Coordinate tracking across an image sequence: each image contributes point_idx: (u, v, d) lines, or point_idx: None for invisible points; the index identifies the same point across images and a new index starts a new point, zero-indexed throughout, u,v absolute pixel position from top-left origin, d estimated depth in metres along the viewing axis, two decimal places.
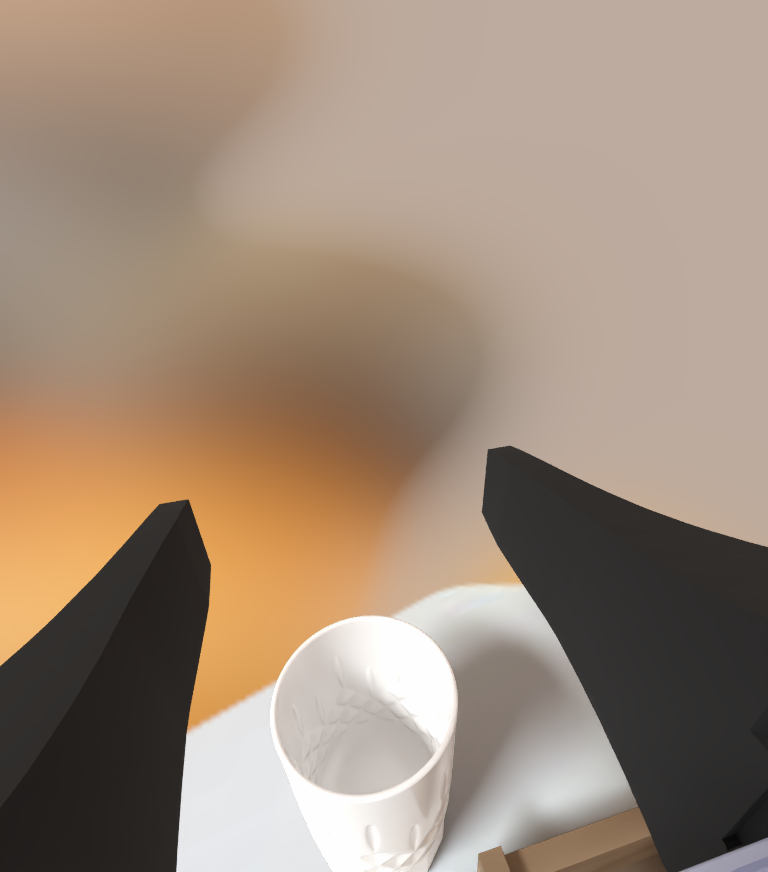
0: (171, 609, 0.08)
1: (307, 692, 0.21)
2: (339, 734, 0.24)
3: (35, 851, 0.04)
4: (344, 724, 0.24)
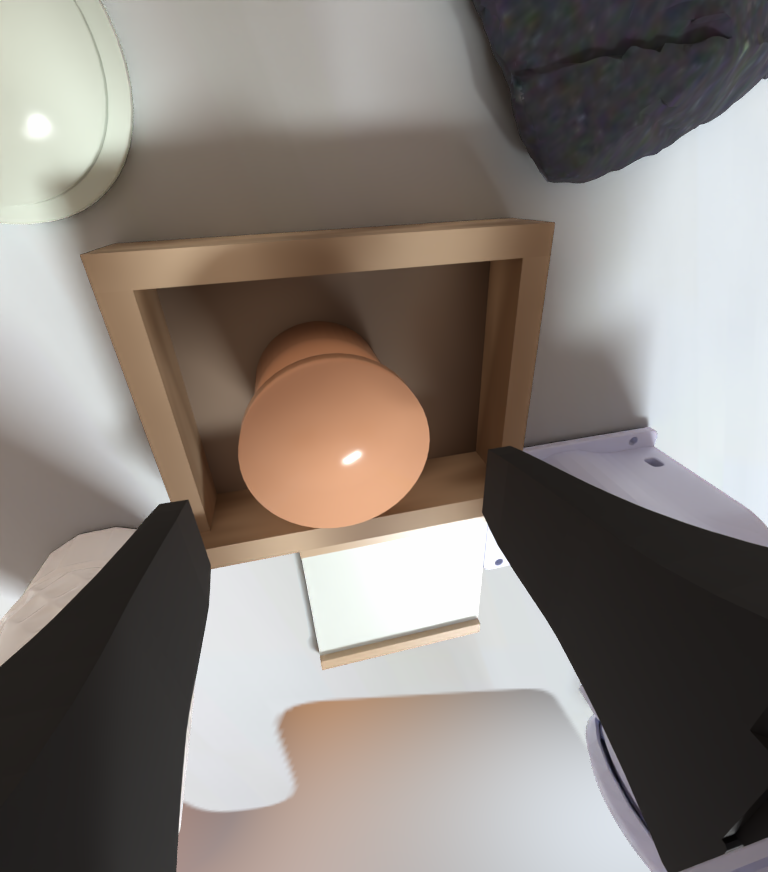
0: (170, 609, 0.08)
1: None
2: None
3: (35, 851, 0.04)
4: None
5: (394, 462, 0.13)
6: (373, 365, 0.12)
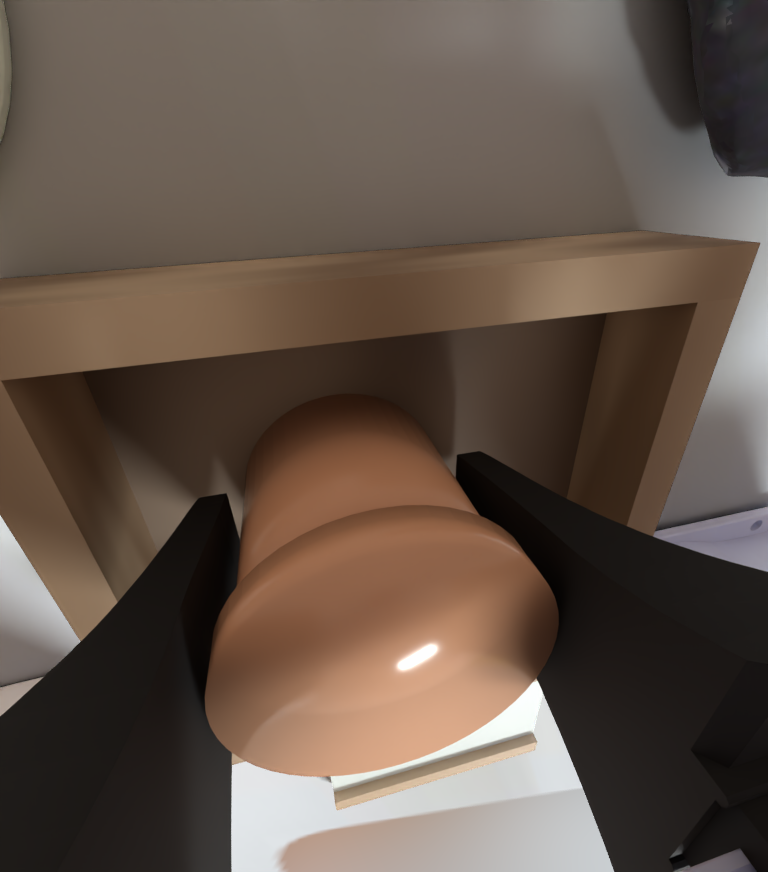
0: (217, 600, 0.08)
1: None
2: None
3: (132, 823, 0.04)
4: None
5: (491, 675, 0.07)
6: (473, 535, 0.06)
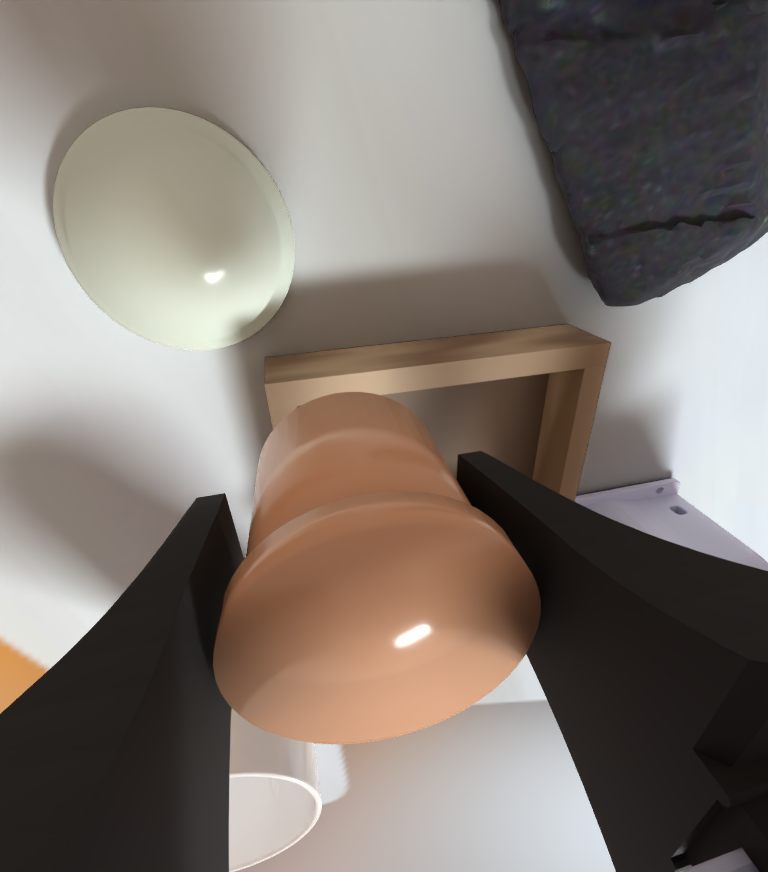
0: (215, 600, 0.08)
1: None
2: None
3: (129, 824, 0.04)
4: None
5: (480, 650, 0.08)
6: (445, 516, 0.06)
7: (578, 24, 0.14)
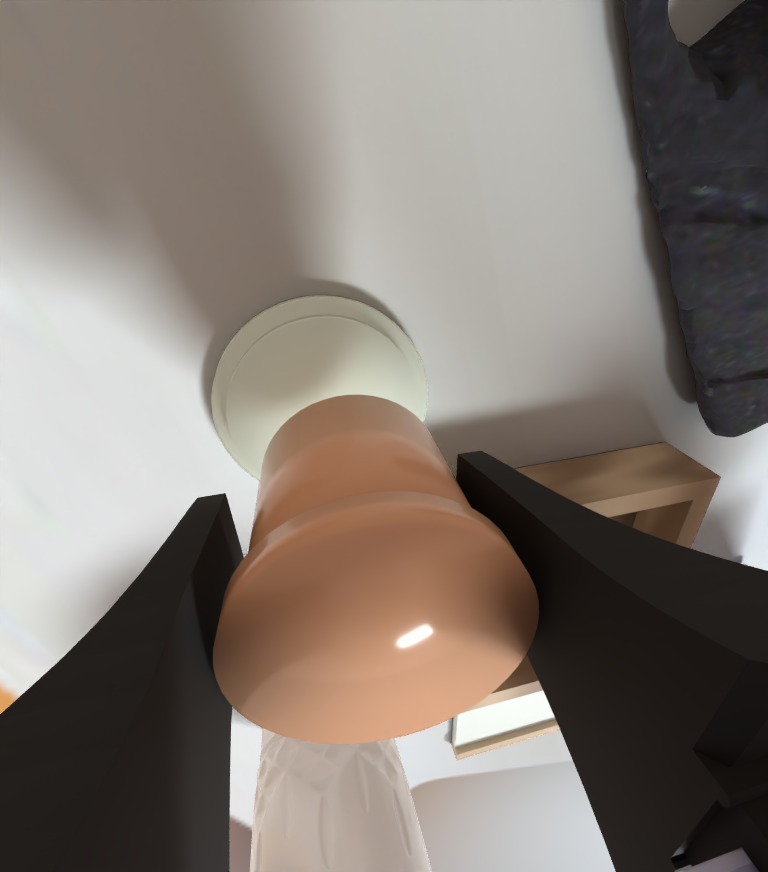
0: (216, 600, 0.08)
1: None
2: None
3: (129, 824, 0.04)
4: None
5: (479, 650, 0.08)
6: (439, 516, 0.06)
7: (728, 208, 0.14)
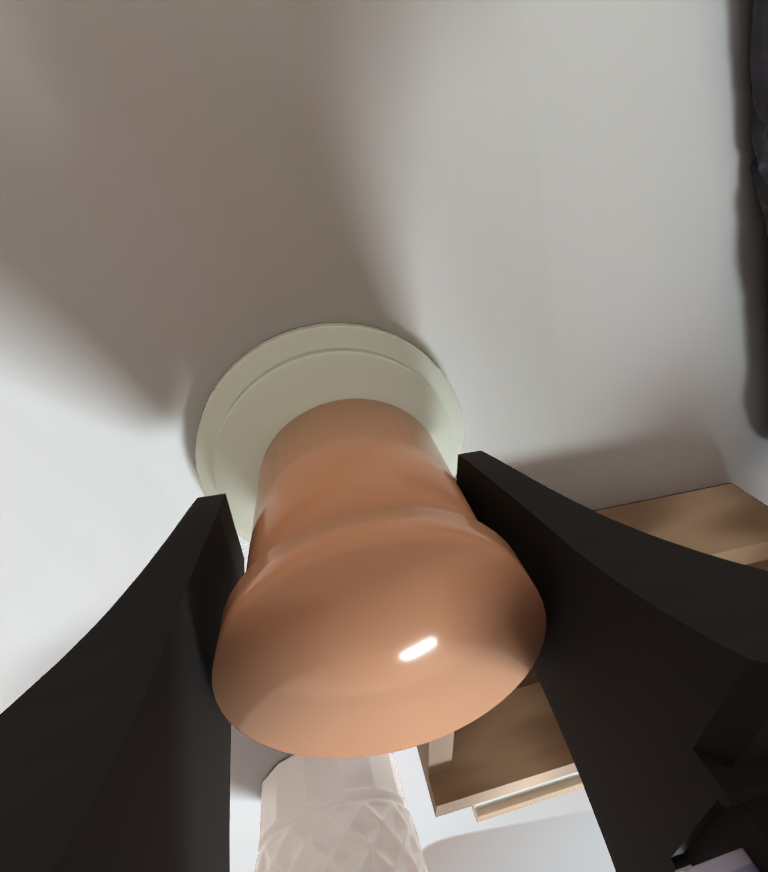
0: (216, 600, 0.08)
1: None
2: None
3: (129, 825, 0.04)
4: None
5: (484, 664, 0.08)
6: (445, 532, 0.06)
7: None
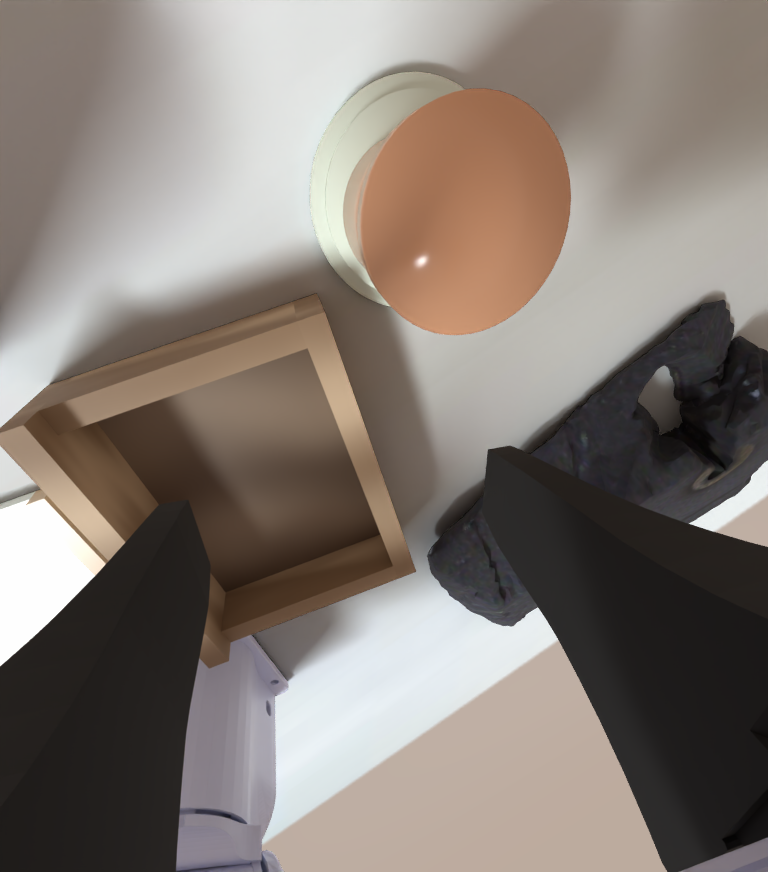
0: (170, 609, 0.08)
1: None
2: None
3: (34, 851, 0.04)
4: None
5: (465, 298, 0.12)
6: None
7: (577, 458, 0.23)
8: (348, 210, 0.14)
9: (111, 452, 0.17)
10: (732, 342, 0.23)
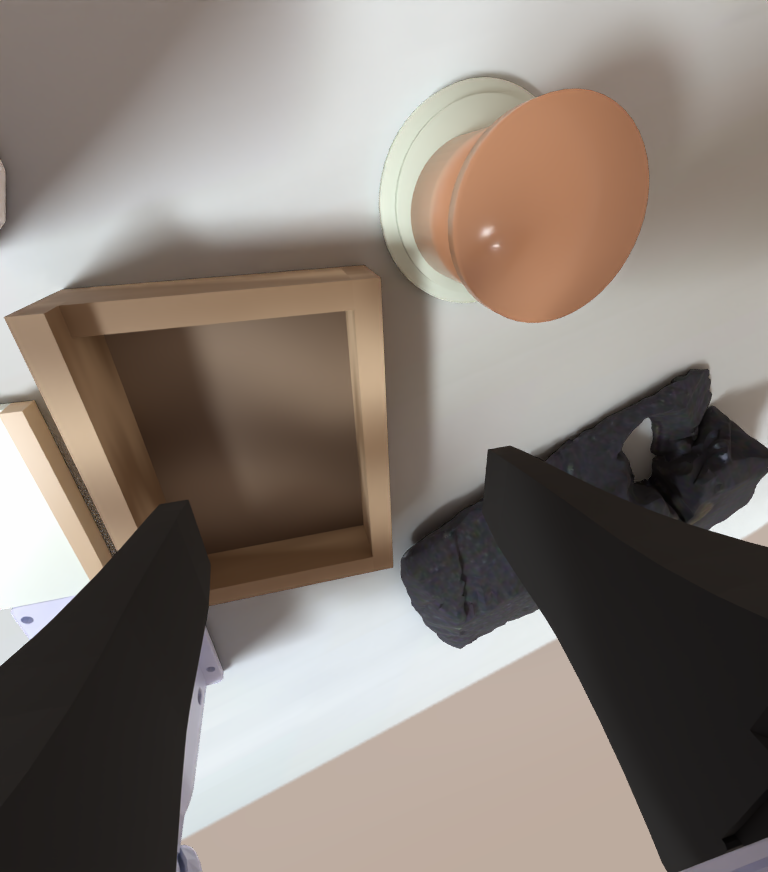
0: (171, 609, 0.08)
1: None
2: None
3: (35, 851, 0.04)
4: None
5: (532, 287, 0.12)
6: None
7: None
8: (425, 186, 0.14)
9: (113, 376, 0.16)
10: (706, 410, 0.26)
